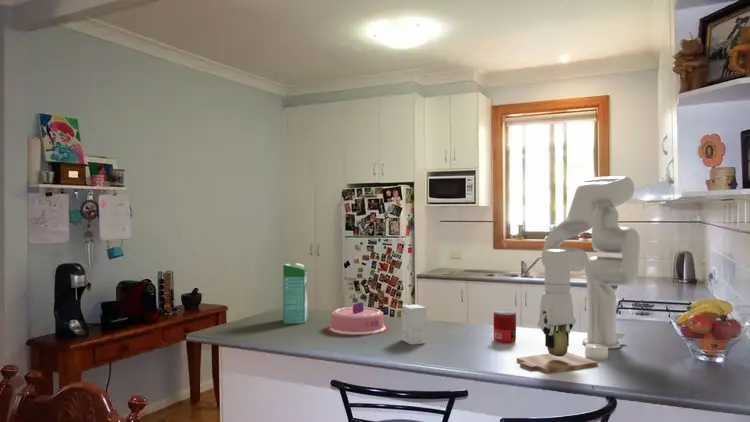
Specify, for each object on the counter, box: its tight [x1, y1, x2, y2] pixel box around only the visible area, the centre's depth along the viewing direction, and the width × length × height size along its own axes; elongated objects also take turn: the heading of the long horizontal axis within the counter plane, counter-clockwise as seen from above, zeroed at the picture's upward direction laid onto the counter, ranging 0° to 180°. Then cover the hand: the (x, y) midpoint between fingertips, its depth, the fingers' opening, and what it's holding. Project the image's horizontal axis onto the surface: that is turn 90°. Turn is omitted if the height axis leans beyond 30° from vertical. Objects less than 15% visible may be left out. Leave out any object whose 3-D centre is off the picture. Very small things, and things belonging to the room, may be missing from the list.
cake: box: [326, 301, 389, 336], centre depth 224 cm, size 25×25×11 cm
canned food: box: [493, 309, 517, 344], centre depth 203 cm, size 8×8×11 cm
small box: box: [401, 303, 427, 345], centre depth 202 cm, size 8×6×13 cm
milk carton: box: [282, 262, 308, 324], centre depth 238 cm, size 9×9×25 cm
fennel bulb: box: [546, 324, 569, 357], centre depth 173 cm, size 6×5×12 cm
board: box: [516, 351, 599, 375], centre depth 172 cm, size 22×14×1 cm, turn 115°
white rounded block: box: [584, 344, 609, 361], centre depth 181 cm, size 7×7×4 cm
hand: (557, 345), depth 173 cm, fingers closed on fennel bulb, 5 cm apart
